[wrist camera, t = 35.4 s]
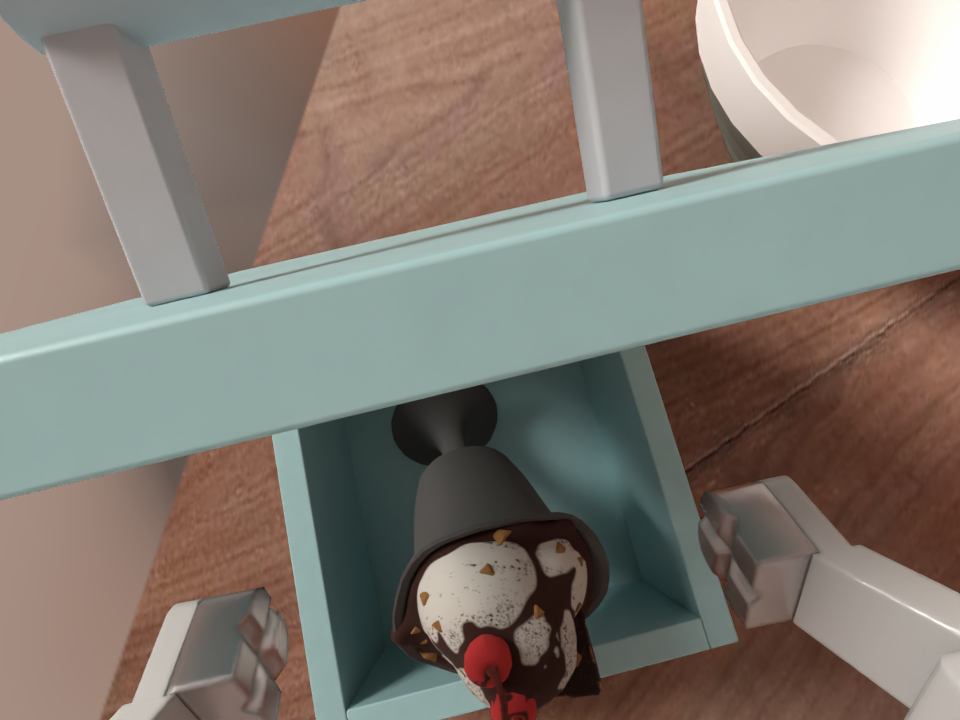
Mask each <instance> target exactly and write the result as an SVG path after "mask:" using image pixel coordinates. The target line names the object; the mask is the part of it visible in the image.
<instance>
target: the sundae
mask: <svg viewBox="0 0 960 720" xmlns="http://www.w3.org/2000/svg"><path fill="white" fill-rule="evenodd" d="M497 419H498V412H497V404H496V402H495V400H494V398H493V396H492V394H491V393H490V391H489V390H488V389H487V388H486V387H485V386H484V385H482V384H481V385H477V386H473V387H469V388H465V389H461V390H456V391H452V392H448V393H444V394H440V395H436V396H432V397H427V398H423V399H419V400H415V401H411V402H407V403H402V404H398V405H396V408H395V410H394V413H393V417H392V421H391V427H392V435H393V439H394V441H395V443H396V445H397V446H398V448H399V449H400V450H401V451H402V453H403V454H404V455H405V456H407V457H408V458H410V459H411V460H413V461H415V462H417V463H419V464H421V465H427V466H428V467H427V468H426V469H425V470H424V472H423V473H422V475H421V477H420V480H419V484H418V489H417V495H416V503H415V510H414V556H413V557H412V558H411V559H410V561H409V563H408V565H407V566H406V568H405V570H404V572H403V574H402V576H401V579H400V582H399V586H398V589H397V593H396V596H395V602H394V607H393V613H392V622H393V628H392V630H391V639H392V641H393V642H394V643H395V644H396V645H398V647H399V648H400V649H401V650H402V651H403V652H404V653H405V654H406V655H408V656H409V657H411V658H412V659H414V660H416V661H419V662H422V663H425V664H428V665H431V666H434V667H437V668H440V669H443V670H446V671H449V672H452V673H455V674H459V676H460V677H461V679H462V681H463V682H464V684H465V685H466V687H467V688H468V689H469V690H470V692H471V693H472V694H473V695H474V696H475V697H476V698H477V699H478V700H479V701H480V702H481V703H483V704H484V705H486V706H487V707H489V708H490V712H491V717H492V720H535V719H536V713H537V712H538V710H539V708H541V707H543V706H545V705H546V704H548V703H549V702H550V701H551V700H552V699H553V698H558V697H565V698H576V697H582V696H590V695H599V693H600V691H601V690H602V687H603V686H602V682H601V678H600V674H599V670H598V666H597V662H596V657H595V654H594V650H593V647H592V643H591V640H590V636H589V632H588V629H587V625H586V621H585V619H586V618H588V617H589V616H590V615H591V614H592V613H593V612H594V611H595V610H596V608H597V607H598V606H599V605H600V603H601V602H602V600H603V599H604V597H605V595H606V594H607V591H608V586H609V581H610V568H609V561H608V559H607V556H606V553H605V551H604V548H603V546H602V545H601V543H600V541H599V539H598V537H597V536H596V534H595V533H594V532H593V531H592V530H591V529H590V528H589V527H588V526H587V525H586V524H585V523H584V522H583V521H582V520H581V519H579V518H577V517H576V516H574V515H572V514H567V513H562V512H551V511H550V510H549V509H548V507H547V506H546V505H545V503H544V502H543V500H542V499H541V498H540V496H539V495H538V494H537V492H536V491H535V489H534V488H533V487H532V485H531V484H530V482H529V481H528V480H527V478H526V477H525V476H524V475H523V473H522V472H521V471H520V470H519V469H518V468H517V467H516V466H515V465H514V464H513V463H512V462H511V461H510V460H509V459H508V458H507V456H506V455H504V454H502V453H501V452H499V451H498V450H496V449H494V448H491V447H485V446H486V444H487V443H488V442H489V441H490V439H491V437H492V435H493V433H494V431H495V428H496V425H497Z"/></svg>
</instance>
